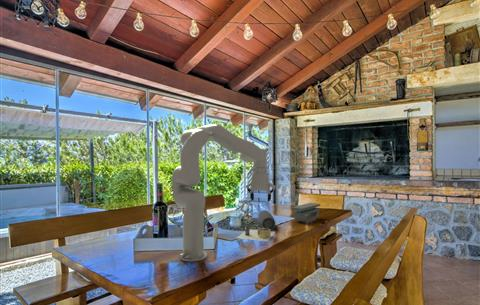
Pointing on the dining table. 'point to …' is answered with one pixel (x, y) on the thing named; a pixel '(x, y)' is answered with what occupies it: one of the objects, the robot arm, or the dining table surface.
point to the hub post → (247, 230)
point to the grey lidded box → (306, 212)
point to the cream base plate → (254, 235)
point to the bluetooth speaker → (266, 220)
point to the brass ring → (264, 233)
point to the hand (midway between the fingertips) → (260, 200)
